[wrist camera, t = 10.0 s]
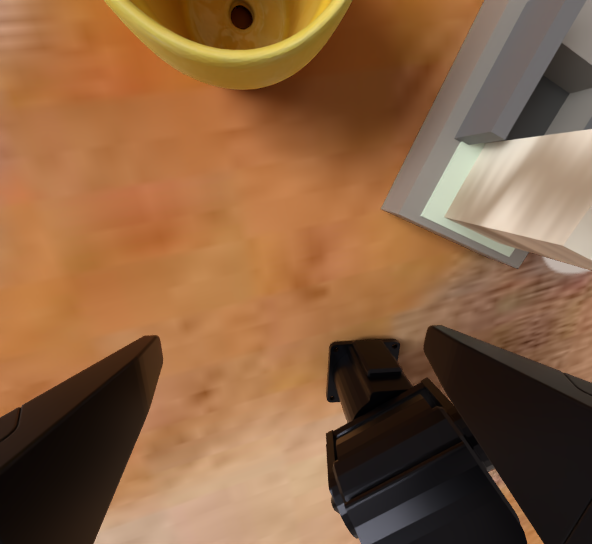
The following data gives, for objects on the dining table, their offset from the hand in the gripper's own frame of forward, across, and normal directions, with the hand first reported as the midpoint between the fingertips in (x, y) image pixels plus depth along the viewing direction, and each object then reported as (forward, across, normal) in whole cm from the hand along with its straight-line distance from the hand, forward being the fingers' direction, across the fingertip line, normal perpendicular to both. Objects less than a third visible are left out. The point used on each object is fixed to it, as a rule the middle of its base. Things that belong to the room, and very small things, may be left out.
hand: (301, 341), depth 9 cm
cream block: (+10, -14, -4) cm, 18 cm away
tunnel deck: (+13, -17, -10) cm, 24 cm away
